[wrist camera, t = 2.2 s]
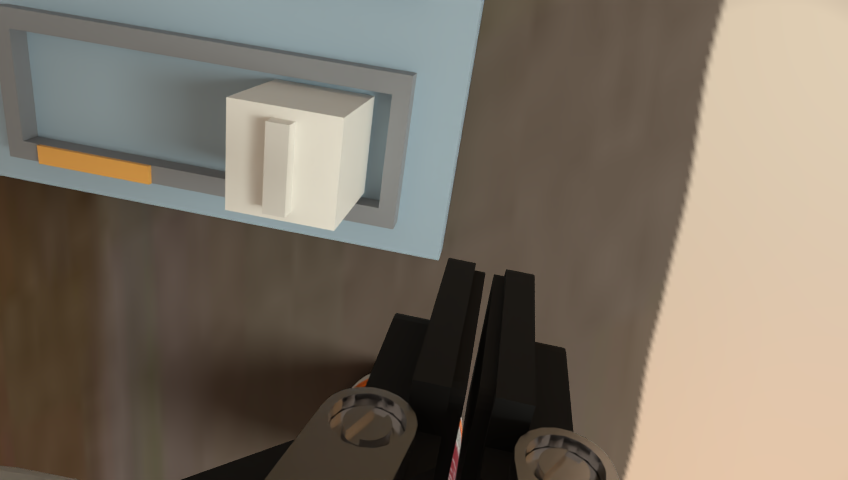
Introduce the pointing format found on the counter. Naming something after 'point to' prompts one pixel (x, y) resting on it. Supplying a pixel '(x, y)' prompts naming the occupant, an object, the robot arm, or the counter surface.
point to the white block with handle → (296, 152)
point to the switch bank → (226, 75)
